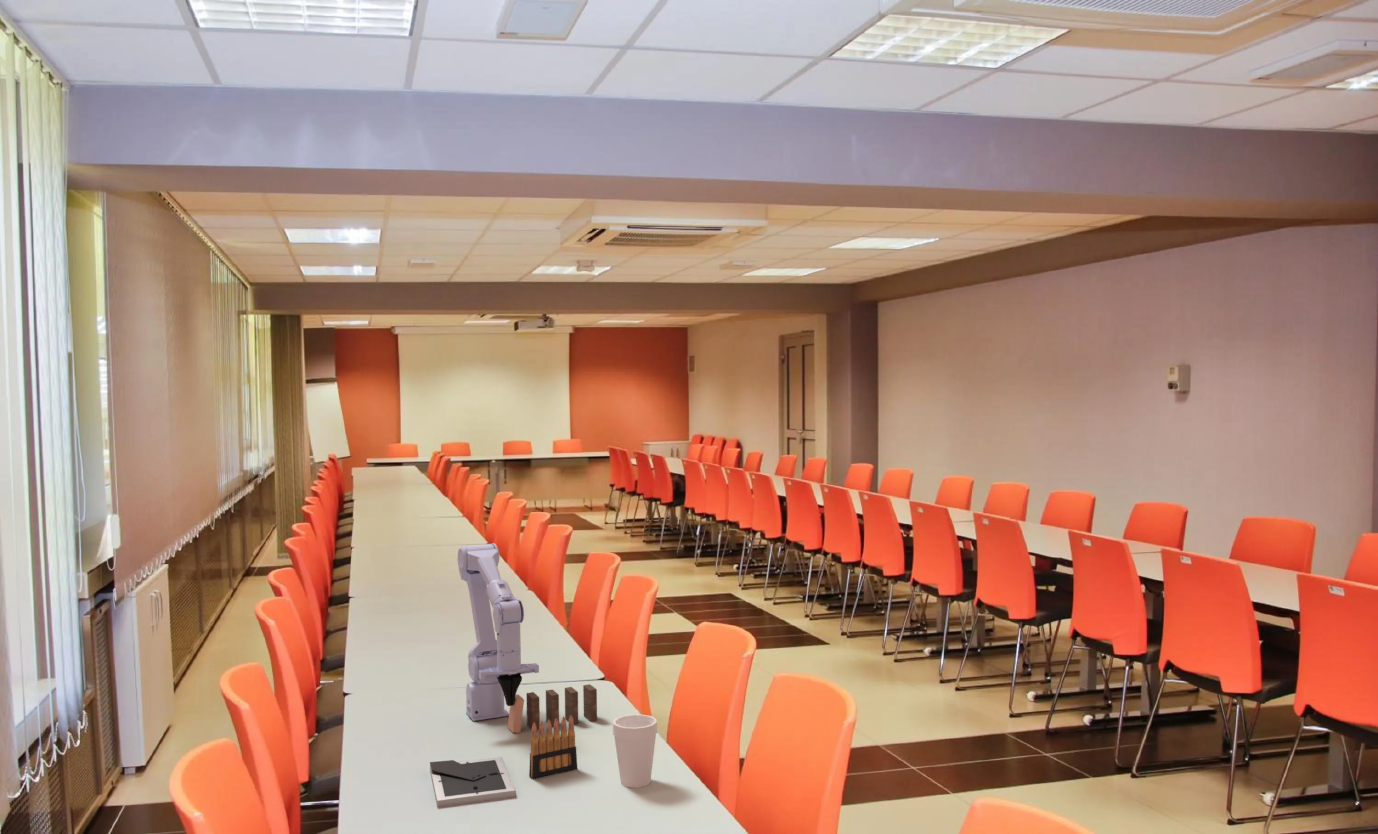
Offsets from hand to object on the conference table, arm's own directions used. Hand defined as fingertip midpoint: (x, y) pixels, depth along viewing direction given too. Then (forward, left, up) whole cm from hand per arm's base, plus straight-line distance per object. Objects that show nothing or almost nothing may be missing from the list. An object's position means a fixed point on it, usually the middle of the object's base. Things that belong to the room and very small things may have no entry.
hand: (509, 704), depth 253 cm
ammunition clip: (+1, -32, -7) cm, 33 cm away
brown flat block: (+21, 0, -6) cm, 22 cm away
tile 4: (+16, 0, -6) cm, 17 cm away
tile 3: (+11, 0, -6) cm, 13 cm away
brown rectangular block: (+6, 0, -6) cm, 9 cm away
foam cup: (+15, -45, -7) cm, 48 cm away
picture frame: (-17, -30, -7) cm, 35 cm away
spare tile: (+1, 0, -6) cm, 6 cm away
